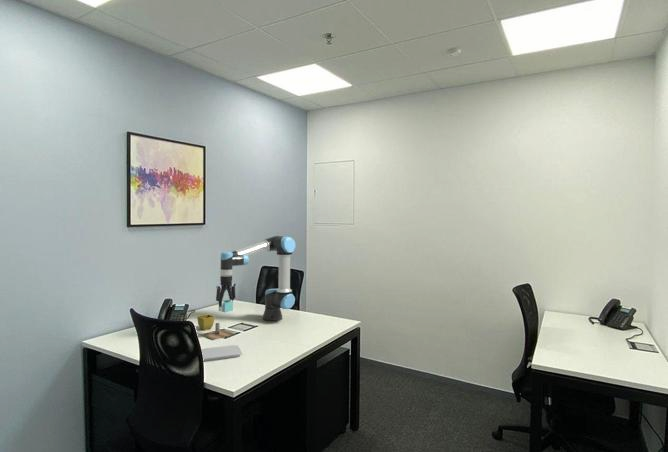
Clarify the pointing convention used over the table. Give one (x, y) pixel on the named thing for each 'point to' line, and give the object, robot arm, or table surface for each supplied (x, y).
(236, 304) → the table surface
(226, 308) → the light blue cube
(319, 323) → the table surface
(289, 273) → the robot arm
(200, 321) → the flower pot
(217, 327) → the post stand
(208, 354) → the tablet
